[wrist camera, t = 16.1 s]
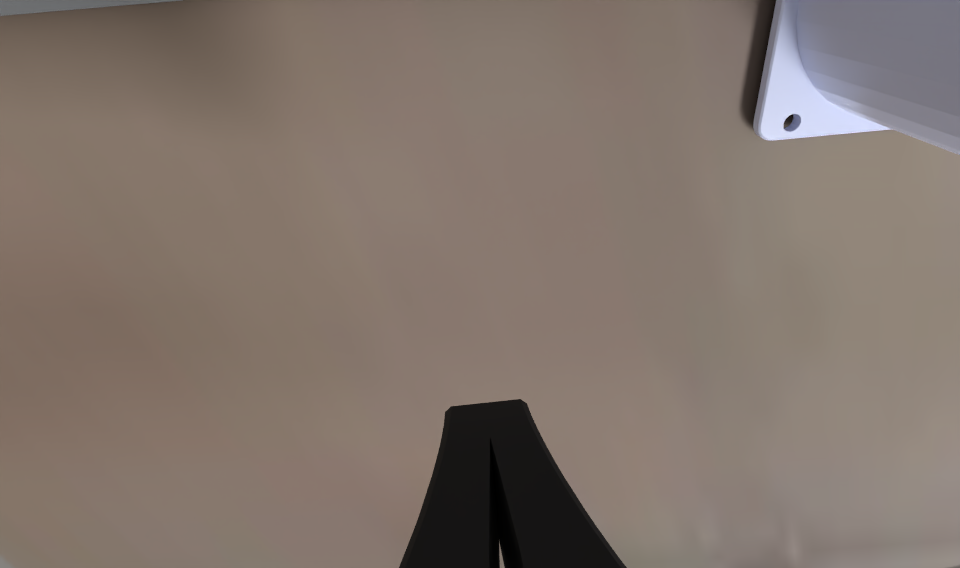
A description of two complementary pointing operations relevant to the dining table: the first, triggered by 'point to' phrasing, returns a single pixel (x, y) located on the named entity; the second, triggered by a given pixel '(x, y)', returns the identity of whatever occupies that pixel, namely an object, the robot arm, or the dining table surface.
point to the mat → (62, 5)
